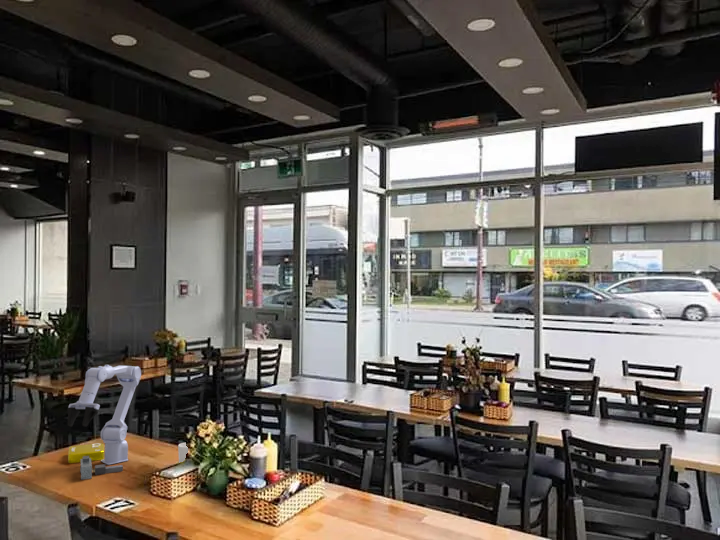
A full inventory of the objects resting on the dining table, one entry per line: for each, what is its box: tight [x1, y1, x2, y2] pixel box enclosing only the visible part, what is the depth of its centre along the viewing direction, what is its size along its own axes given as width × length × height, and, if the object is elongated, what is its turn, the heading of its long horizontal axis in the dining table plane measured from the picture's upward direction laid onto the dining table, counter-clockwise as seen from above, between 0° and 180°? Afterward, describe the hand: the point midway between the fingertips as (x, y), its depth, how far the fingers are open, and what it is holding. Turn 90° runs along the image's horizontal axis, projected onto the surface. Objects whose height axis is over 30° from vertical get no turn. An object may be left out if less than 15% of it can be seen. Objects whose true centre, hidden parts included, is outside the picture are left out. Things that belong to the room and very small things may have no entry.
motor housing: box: [79, 456, 93, 481], centre depth 249 cm, size 4×12×6 cm, turn 27°
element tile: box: [67, 442, 105, 464], centre depth 274 cm, size 15×15×5 cm
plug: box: [92, 463, 124, 476], centre depth 253 cm, size 12×4×3 cm, turn 117°
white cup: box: [177, 442, 188, 464], centre depth 262 cm, size 8×8×10 cm
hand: (76, 425), depth 242 cm, fingers open, 7 cm apart
